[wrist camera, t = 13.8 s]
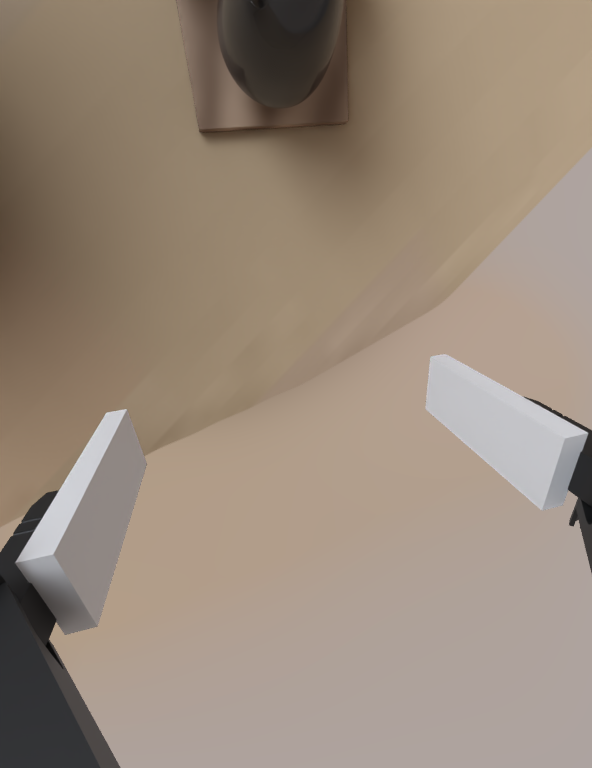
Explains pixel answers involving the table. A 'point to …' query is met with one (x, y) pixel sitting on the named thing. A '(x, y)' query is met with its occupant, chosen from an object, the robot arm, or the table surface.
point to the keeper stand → (226, 99)
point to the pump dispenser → (278, 46)
